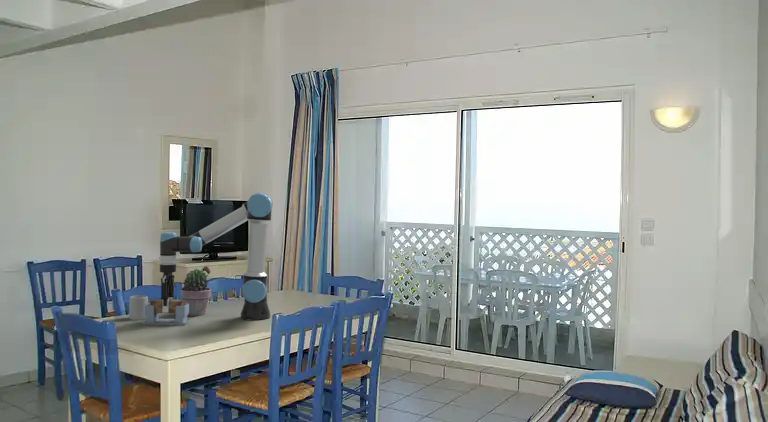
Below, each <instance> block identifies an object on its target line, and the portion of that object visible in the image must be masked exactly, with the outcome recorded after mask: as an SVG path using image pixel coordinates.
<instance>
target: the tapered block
mask: <svg viewBox="0 0 768 422" xmlns="http://www.w3.org/2000/svg"><path fill="white" fill-rule="evenodd" d="M149 301H150V302H149V303H150V305H154V313H159V314H163V313H162V310H163V299H161V298H160V299H151V300H149ZM176 306H184V300H182V299H172V300H169V313H166V314H171V315H172V314H175V315H176Z"/></svg>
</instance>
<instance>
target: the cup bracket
mask: <svg viewBox="0 0 768 422" xmlns="http://www.w3.org/2000/svg"><path fill="white" fill-rule="evenodd" d="M159 314H160V313H154V305H150V302H149V304H147V305H145V316H146V319H145V321H143V322H142V326H145V325H146V326H186V325H187V324H189V323H190V322H191V319H188V314H189V304H184V306H176V314H175V318H159Z"/></svg>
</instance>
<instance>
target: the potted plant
mask: <svg viewBox="0 0 768 422" xmlns="http://www.w3.org/2000/svg"><path fill="white" fill-rule="evenodd" d="M206 273H207V274H206ZM210 273H211V270H210V268H209V267H208V266H207V265H206V266H203V268H201V269H197V268H195V269H193V270H189V272H187V273H186V276H185V277H184V278H185V279H184V280H183V281H182V282H181V285H183V286H182V287H181V288H179V291H180V298H181V300H184V304H189V314H188V315H187V317H188V316H189V317H197V316H198V317H199V316H204V315H205V314H206V311H207V308H208V304H209V300H210V298H211V294H212V288H210V287H208V286H209V282H208V278H212V277H210V276H209V275H210Z"/></svg>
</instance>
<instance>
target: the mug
mask: <svg viewBox="0 0 768 422" xmlns="http://www.w3.org/2000/svg"><path fill="white" fill-rule="evenodd" d="M149 301H150V300H149V299H148V296H147V295H142V294H140V295H131V296H129V305H128V307H129V309H128V310H129V312H128V313H129V314H128V319H129V320H132V321H141V319H142V320H146V316H145V305H147V304H149V303H150V302H149Z"/></svg>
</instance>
